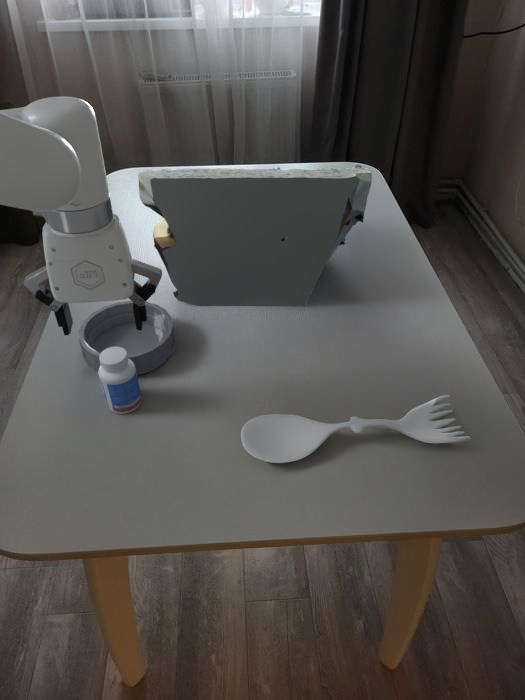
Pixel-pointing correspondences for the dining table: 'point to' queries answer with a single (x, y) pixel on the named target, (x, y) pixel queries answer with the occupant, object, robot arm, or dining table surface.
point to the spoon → (307, 435)
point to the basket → (251, 229)
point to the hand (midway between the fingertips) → (104, 326)
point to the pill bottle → (119, 381)
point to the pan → (128, 335)
